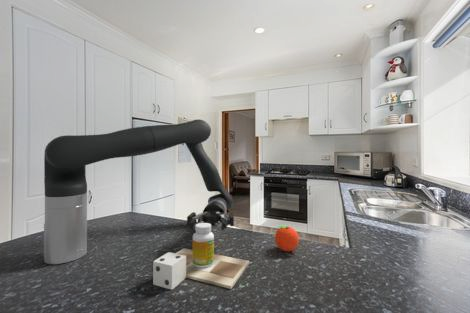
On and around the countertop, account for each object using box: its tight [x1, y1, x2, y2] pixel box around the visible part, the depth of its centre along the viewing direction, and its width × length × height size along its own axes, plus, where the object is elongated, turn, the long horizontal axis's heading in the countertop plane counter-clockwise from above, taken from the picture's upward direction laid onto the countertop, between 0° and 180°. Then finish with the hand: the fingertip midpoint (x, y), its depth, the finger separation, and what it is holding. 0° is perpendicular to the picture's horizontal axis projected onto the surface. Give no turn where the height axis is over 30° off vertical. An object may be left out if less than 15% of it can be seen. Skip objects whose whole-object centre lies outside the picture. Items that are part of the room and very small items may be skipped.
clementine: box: [272, 225, 300, 252], centre depth 65 cm, size 8×7×7 cm
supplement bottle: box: [192, 223, 215, 268], centre depth 55 cm, size 5×5×10 cm
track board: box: [174, 247, 250, 290], centre depth 55 cm, size 20×12×1 cm, turn 68°
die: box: [152, 251, 186, 290], centre depth 49 cm, size 5×5×5 cm
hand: (207, 226), depth 61 cm, fingers open, 8 cm apart
